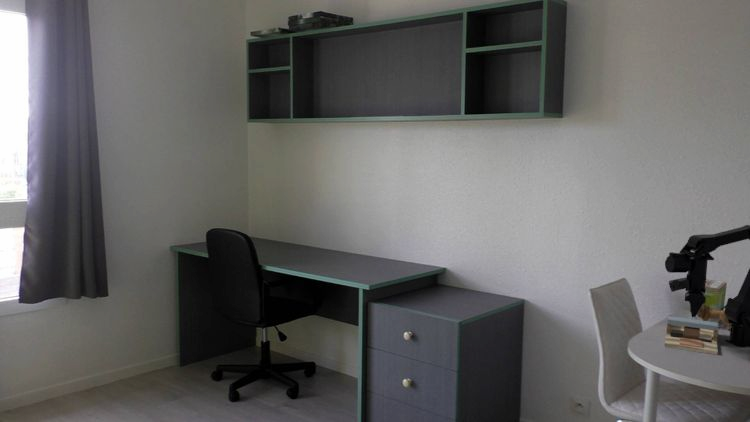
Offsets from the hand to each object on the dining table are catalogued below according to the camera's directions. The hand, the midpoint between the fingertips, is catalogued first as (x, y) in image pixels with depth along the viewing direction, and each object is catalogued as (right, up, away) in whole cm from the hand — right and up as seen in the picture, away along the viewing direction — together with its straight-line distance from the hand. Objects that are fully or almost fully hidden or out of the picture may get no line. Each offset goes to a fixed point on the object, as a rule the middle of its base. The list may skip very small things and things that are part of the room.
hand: (693, 316), depth 222 cm
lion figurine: (+18, -8, +22) cm, 29 cm away
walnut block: (+2, -9, +7) cm, 11 cm away
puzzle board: (+2, -9, +5) cm, 11 cm away
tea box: (+21, -6, +33) cm, 39 cm away
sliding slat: (+2, -4, +6) cm, 8 cm away
